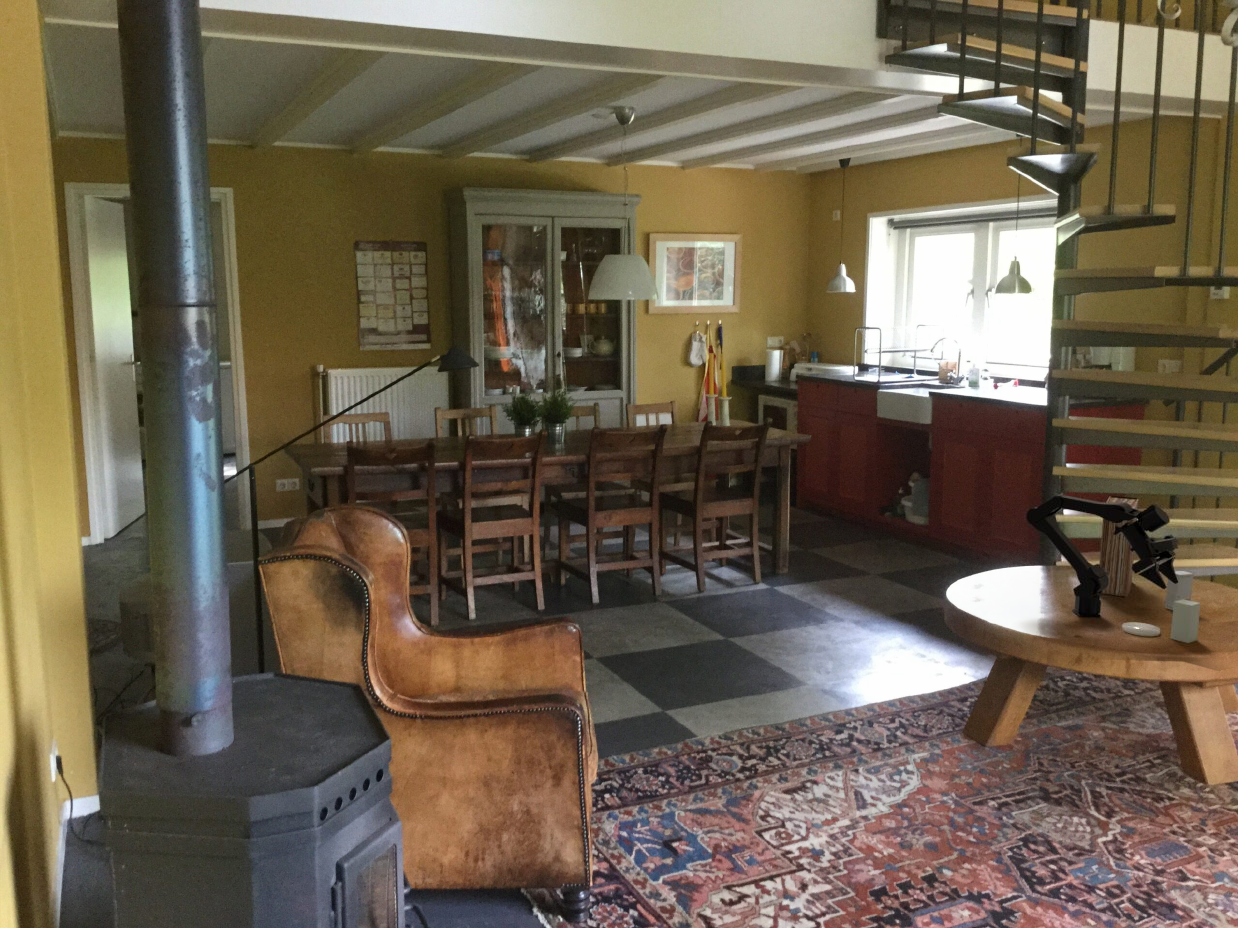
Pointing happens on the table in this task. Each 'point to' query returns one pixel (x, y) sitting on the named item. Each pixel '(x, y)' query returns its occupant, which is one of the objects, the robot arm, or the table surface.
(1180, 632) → the sage block
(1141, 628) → the coaster
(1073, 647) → the table surface
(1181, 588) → the skincare box
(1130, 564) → the brown striped upright block
